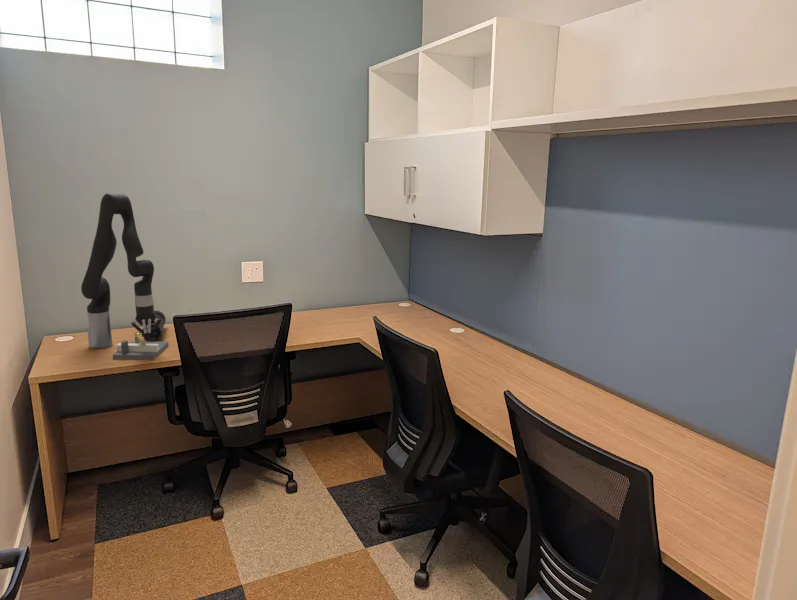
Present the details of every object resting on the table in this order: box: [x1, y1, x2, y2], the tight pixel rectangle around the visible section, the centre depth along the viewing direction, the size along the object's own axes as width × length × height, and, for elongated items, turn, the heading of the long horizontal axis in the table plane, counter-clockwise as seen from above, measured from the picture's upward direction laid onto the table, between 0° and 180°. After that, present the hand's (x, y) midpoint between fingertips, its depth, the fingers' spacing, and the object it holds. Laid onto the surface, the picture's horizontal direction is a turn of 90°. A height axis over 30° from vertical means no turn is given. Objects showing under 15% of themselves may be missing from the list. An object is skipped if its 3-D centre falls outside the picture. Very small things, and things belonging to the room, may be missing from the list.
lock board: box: [112, 339, 170, 360], centre depth 264 cm, size 18×20×8 cm
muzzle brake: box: [142, 310, 166, 341], centre depth 288 cm, size 10×28×10 cm, turn 18°
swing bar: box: [133, 331, 146, 346], centre depth 262 cm, size 13×3×3 cm, turn 35°
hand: (147, 340), depth 259 cm, fingers closed
